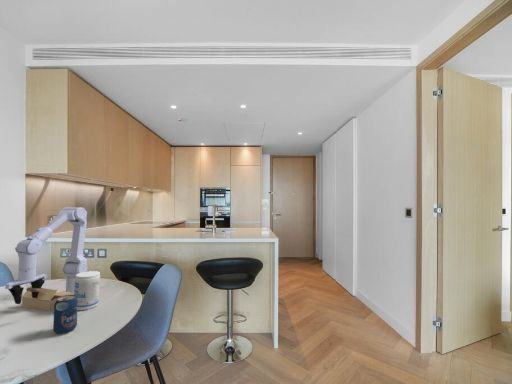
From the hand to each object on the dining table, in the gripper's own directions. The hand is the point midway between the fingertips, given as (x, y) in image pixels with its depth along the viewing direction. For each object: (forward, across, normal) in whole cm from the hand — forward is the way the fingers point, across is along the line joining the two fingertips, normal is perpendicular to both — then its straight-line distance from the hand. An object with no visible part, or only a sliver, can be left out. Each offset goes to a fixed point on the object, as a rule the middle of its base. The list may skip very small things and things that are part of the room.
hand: (26, 300), depth 108 cm
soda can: (+5, +8, +30) cm, 32 cm away
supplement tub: (+5, -11, +19) cm, 23 cm away
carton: (+5, -9, 0) cm, 10 cm away
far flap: (-1, -5, 0) cm, 5 cm away
